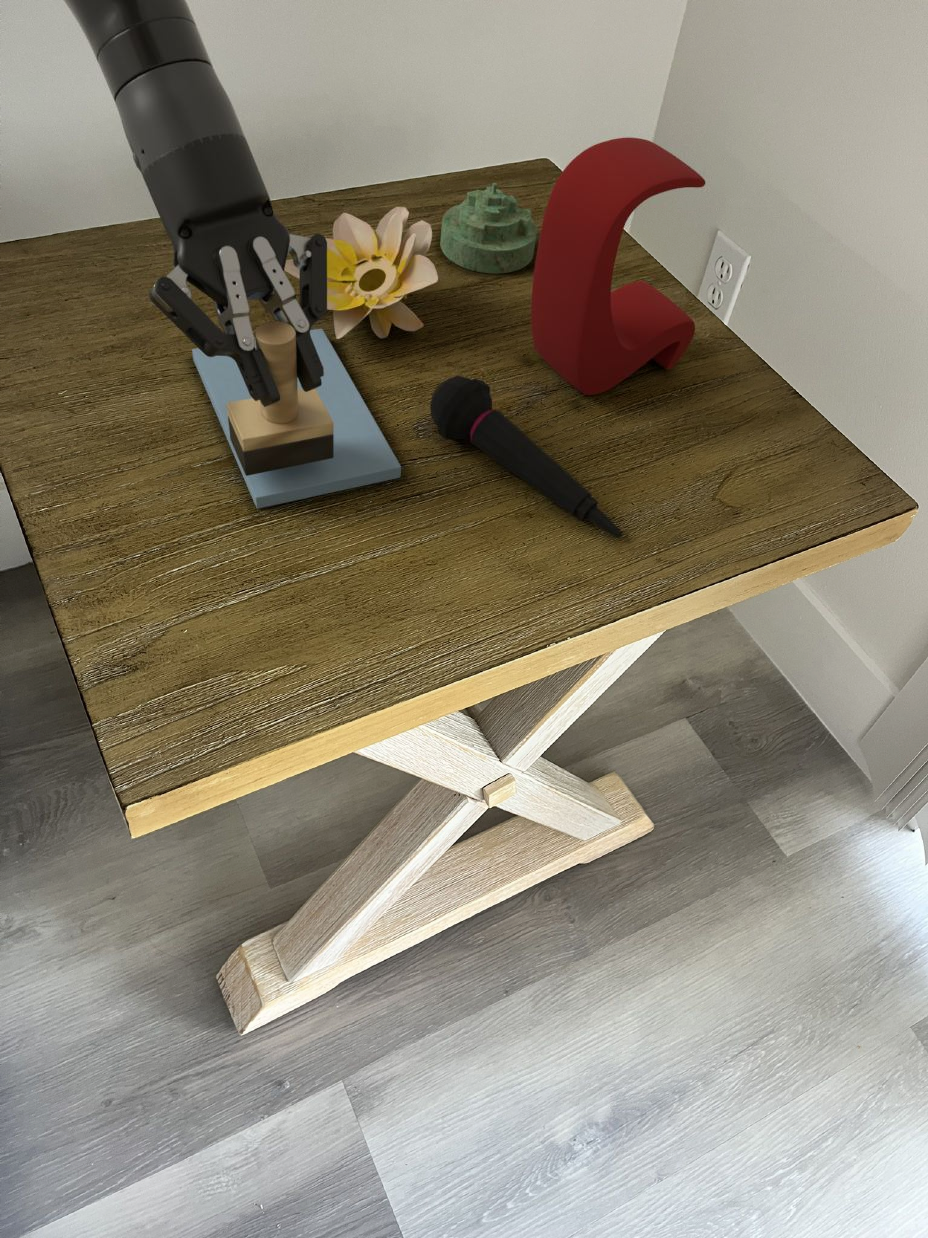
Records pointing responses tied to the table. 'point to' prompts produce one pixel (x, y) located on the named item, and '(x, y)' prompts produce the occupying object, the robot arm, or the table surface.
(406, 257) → the decorative flower
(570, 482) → the microphone
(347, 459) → the mat
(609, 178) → the red curved piece
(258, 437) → the wooden stamp
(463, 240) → the decorative artifact
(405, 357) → the table surface
